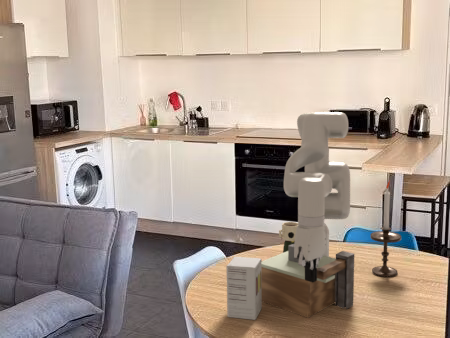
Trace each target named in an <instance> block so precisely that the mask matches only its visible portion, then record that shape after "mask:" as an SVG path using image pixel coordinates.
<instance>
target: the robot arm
mask: <svg viewBox="0 0 450 338" xmlns="http://www.w3.org/2000/svg"><path fill="white" fill-rule="evenodd" d="M296 125H297V131H298V133H299V136H300V139H301V143H300V144H301V145H300V148H297V150H295V151H294V152H293V153H292V154H291V156H290V157H289V158H288V160H287V161H286V164H285V167H284V175H283V190H284V192H285V194H286V196H288V197H291V198H298V199H297V223H298V226H297V229H296V234H295V244H294V258H295V259H299V262H298V265H300V266H304V268H305V280H306V281H309V282H315V281H317V267H318V263H319V260H320V259H321V258H322V257H323V255H324V256H328V257H330V256H329V255H330V229H329V227H328V226H327V224H326V222H325V220H345V219H348V218H349V215H350V213H351V171H350V167H349V166H348V164H347V163H345V162H340V161H330V149H329V139H345V138H346V137H347V135H348V132H349V119H348V116H347V114H346V113H344V112H339V111H334V112H333V111H332V112H331V111H329V112H328V111H324V112H323V111H320V112H319V111H317V112H315V111H314V112H306V113H303V114H300V115H299V116H298V117H297V121H296ZM303 167H304V171H298V170H299V169H302V168H303ZM333 189H334V190H336V192H332V191H333Z"/></svg>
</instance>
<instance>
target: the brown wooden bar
mask: <svg viewBox="0 0 450 338" xmlns="http://www.w3.org/2000/svg"><path fill="white" fill-rule="evenodd" d="M345 268H346V259H342V258H339V259H337V260H335V261H333V262H331V263H329V264H327V265H324V266H322V267H320V268H317V278H318V279H322V280H324V279H326V278H327V277H329V276H331V275H333V274H335V273H337V272H339V271H341V270H343V269H345Z"/></svg>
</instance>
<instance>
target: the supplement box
mask: <svg viewBox="0 0 450 338" xmlns="http://www.w3.org/2000/svg"><path fill="white" fill-rule="evenodd" d="M261 261H262V258H259V257H246V256H244V257H243V256H233V258H232V259H231V260H230V262H228V264H227V265H225V266H226V307H227V308H226V309H227V312H226V313H227V317H228V318H235V319H245V320H254V321H256V320H257V318H258V316H259V314H260V312H261V311H262V307H263V305H262V303H263V302H262V279H261Z"/></svg>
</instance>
